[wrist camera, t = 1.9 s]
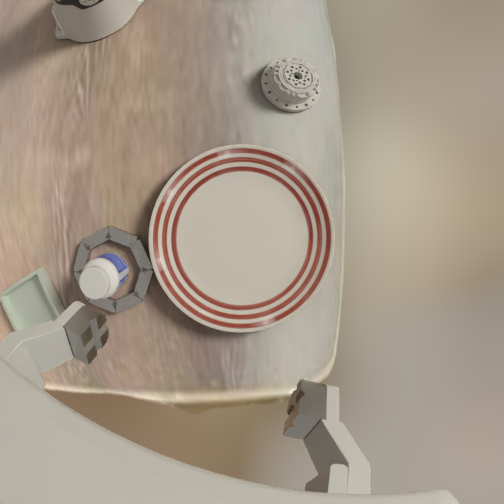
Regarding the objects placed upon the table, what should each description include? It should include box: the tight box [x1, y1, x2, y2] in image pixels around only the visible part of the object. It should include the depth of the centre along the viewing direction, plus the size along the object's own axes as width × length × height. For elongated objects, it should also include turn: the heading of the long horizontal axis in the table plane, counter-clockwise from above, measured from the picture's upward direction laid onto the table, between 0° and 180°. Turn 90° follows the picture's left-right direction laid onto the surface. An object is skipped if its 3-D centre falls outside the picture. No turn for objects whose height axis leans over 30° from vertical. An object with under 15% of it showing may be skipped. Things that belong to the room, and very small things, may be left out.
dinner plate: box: [148, 144, 335, 333], centre depth 42 cm, size 28×27×3 cm
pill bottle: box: [79, 252, 129, 299], centre depth 36 cm, size 5×5×10 cm
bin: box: [0, 266, 65, 331], centre depth 37 cm, size 11×11×2 cm
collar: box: [73, 226, 154, 313], centre depth 40 cm, size 12×12×1 cm
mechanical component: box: [261, 57, 320, 112], centre depth 40 cm, size 10×4×10 cm
